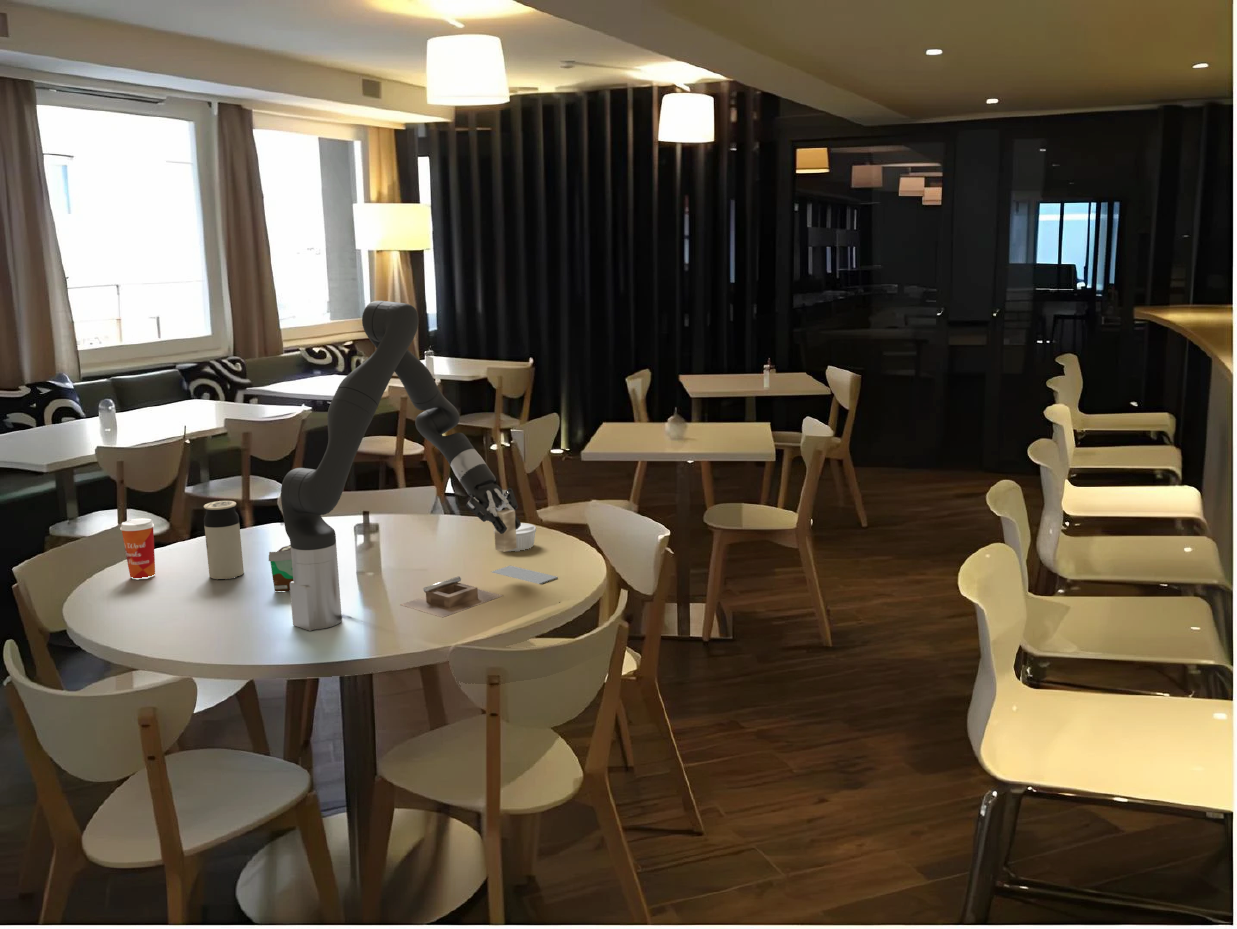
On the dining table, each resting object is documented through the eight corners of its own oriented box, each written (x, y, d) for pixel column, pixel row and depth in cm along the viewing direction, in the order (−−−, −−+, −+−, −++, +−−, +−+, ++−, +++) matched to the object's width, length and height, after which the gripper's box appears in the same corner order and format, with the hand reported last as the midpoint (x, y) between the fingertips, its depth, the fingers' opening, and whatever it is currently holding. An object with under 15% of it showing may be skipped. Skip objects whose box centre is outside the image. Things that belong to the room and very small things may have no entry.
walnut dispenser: (442, 621, 228) (441, 600, 227) (400, 609, 236) (398, 588, 235) (503, 599, 241) (502, 579, 240) (461, 588, 250) (460, 569, 249)
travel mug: (248, 570, 268) (242, 500, 264) (236, 580, 260) (229, 507, 256) (217, 570, 268) (210, 500, 264) (204, 580, 260) (196, 508, 257)
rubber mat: (503, 597, 242) (503, 596, 242) (455, 585, 253) (455, 583, 252) (557, 578, 256) (557, 576, 256) (510, 567, 266) (510, 565, 266)
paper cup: (118, 580, 262) (112, 524, 259) (141, 571, 269) (135, 517, 266) (145, 582, 259) (139, 526, 257) (167, 573, 267) (161, 518, 264)
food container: (295, 595, 247) (292, 553, 245) (271, 594, 249) (267, 552, 247) (320, 579, 259) (317, 539, 257) (297, 578, 260) (294, 538, 258)
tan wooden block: (504, 551, 250) (502, 514, 248) (495, 549, 252) (493, 512, 250) (516, 547, 253) (515, 510, 252) (507, 545, 255) (505, 509, 253)
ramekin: (527, 554, 277) (526, 534, 276) (487, 551, 281) (486, 532, 280) (543, 543, 288) (542, 524, 287) (504, 540, 291) (503, 521, 290)
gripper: (457, 468, 248) (496, 526, 243) (501, 458, 259) (540, 514, 254) (443, 487, 253) (481, 545, 247) (487, 476, 263) (525, 532, 258)
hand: (511, 529), depth 251 cm, fingers closed on tan wooden block, 4 cm apart
